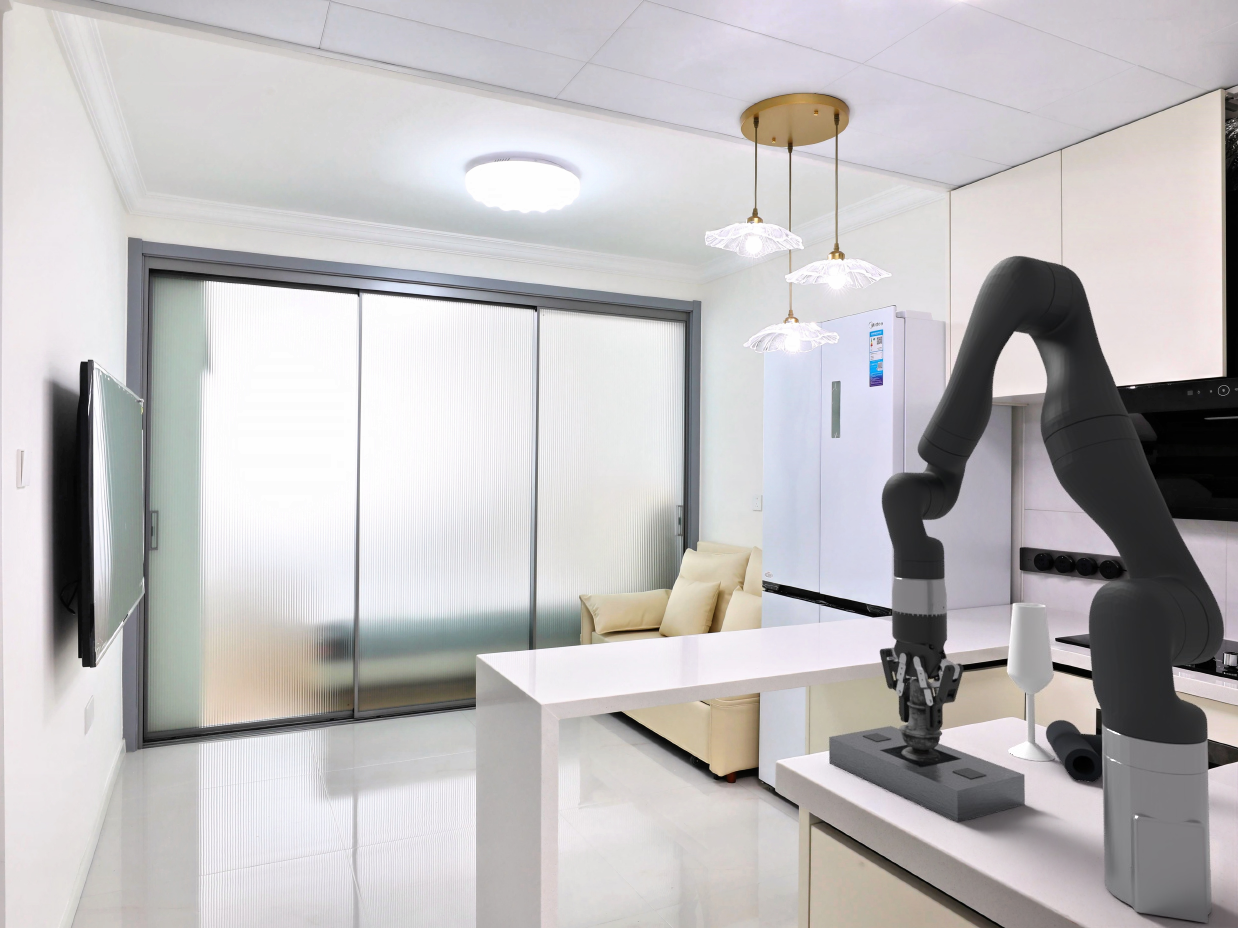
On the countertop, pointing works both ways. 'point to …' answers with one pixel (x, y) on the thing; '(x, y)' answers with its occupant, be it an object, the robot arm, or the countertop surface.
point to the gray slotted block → (929, 774)
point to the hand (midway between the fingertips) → (920, 725)
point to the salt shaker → (919, 728)
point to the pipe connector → (1076, 750)
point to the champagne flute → (1030, 668)
